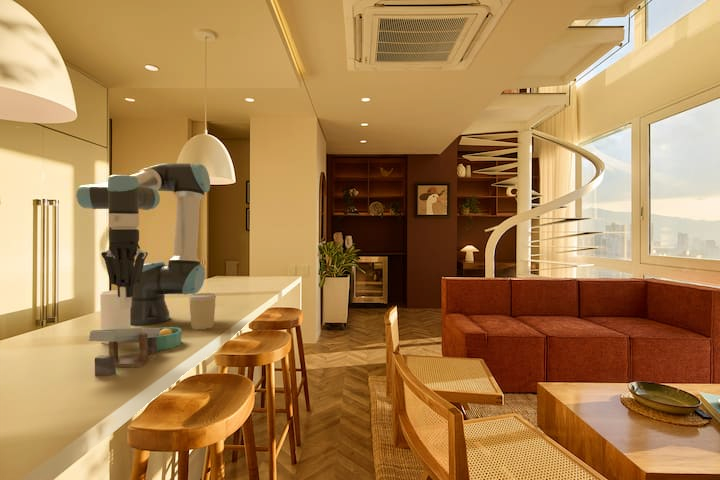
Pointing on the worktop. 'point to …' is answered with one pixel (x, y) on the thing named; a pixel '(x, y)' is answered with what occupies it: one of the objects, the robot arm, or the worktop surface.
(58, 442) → the worktop surface
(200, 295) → the coffee cup
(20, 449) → the worktop surface
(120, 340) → the lever
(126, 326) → the cup
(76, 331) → the worktop surface
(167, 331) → the ball
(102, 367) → the stand
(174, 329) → the dish
